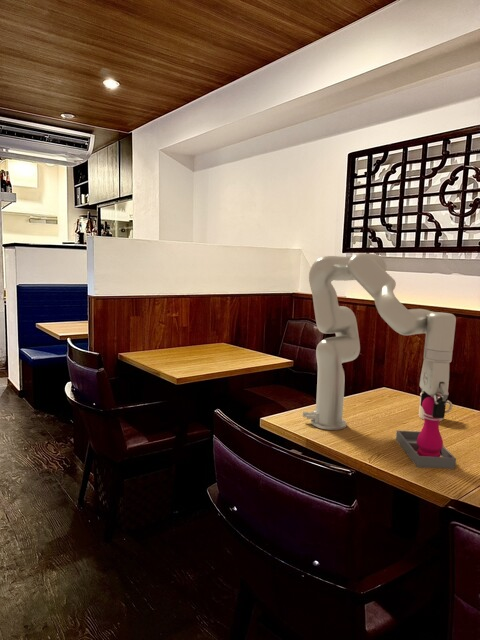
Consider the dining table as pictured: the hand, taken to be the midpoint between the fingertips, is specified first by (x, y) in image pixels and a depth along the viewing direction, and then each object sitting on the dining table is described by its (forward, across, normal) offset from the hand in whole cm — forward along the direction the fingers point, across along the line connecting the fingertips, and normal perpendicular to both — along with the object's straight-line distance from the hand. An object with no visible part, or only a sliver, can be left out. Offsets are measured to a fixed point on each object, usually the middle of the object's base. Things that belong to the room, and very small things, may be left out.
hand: (431, 411), depth 134 cm
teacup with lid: (+15, -38, +16) cm, 45 cm away
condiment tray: (+15, -4, 0) cm, 15 cm away
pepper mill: (+14, 0, 0) cm, 14 cm away
